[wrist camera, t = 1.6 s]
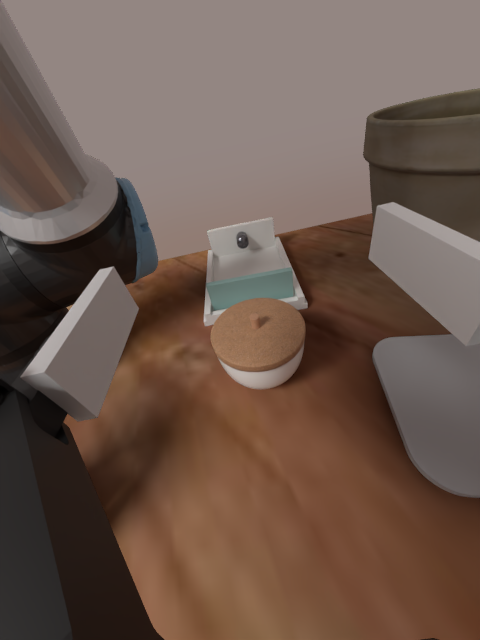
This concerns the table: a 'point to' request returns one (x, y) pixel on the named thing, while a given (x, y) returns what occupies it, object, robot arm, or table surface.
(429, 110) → the plant pot
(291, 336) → the lidded jar
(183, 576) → the table surface
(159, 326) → the table surface
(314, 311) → the table surface
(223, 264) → the pusher lane
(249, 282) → the pusher plate
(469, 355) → the tablet
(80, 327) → the robot arm
